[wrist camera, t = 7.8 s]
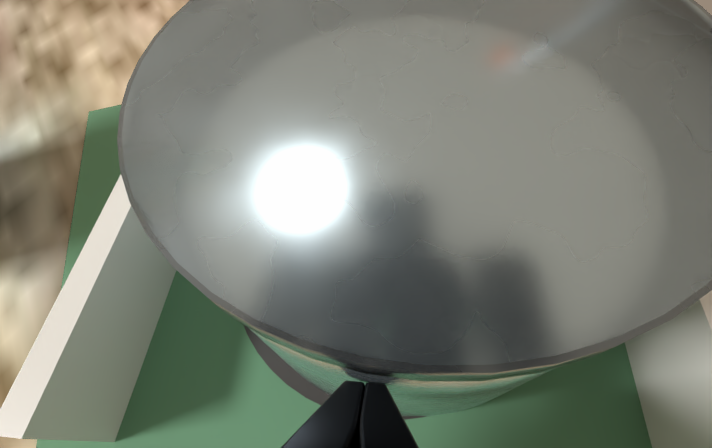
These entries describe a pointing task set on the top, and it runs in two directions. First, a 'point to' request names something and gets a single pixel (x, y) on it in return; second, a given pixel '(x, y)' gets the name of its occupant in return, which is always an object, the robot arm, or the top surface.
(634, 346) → the beige thin-walled piece
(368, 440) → the robot arm
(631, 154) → the chrome metal canister
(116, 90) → the top surface
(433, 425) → the green mat
